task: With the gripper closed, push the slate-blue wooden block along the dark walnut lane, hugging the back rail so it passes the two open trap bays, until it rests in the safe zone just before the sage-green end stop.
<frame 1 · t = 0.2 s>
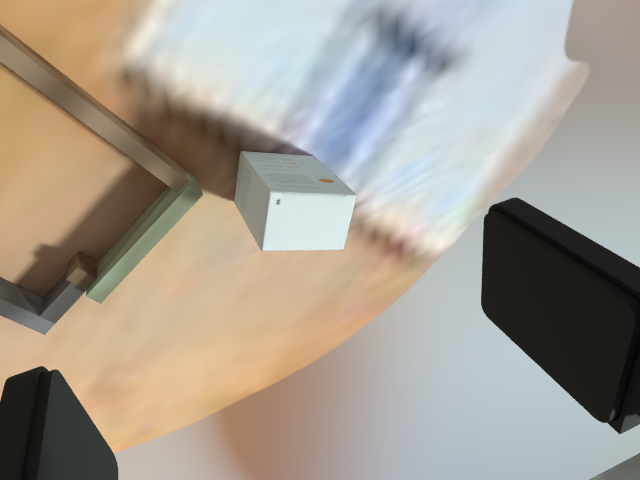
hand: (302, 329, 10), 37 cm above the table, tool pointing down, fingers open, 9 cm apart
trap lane: (10, 140, 39), on the table
small box: (274, 177, 49), on the table
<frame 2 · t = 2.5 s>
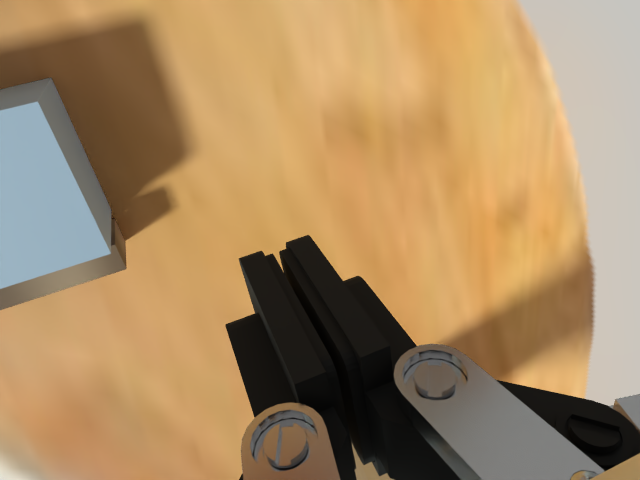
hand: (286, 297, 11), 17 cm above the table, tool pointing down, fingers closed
slate block: (9, 167, 23), on the table
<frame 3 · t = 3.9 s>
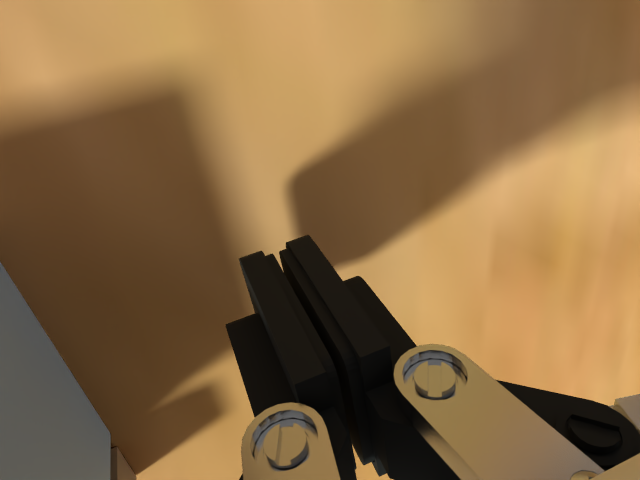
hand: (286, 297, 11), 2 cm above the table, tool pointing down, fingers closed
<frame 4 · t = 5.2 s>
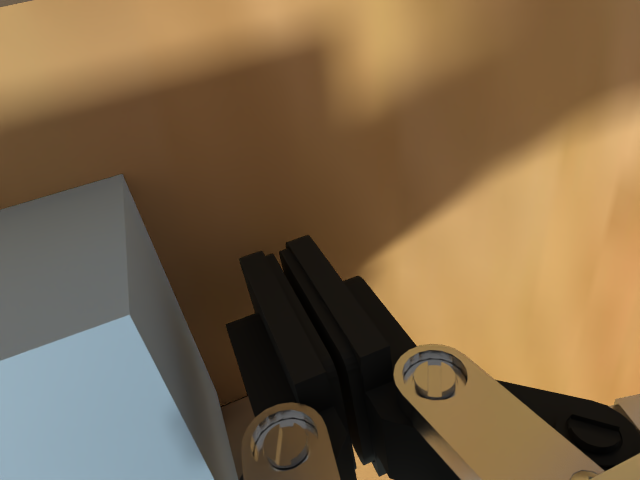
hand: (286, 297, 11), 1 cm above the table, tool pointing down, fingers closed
slate block: (28, 353, 11), on the table, touching gripper
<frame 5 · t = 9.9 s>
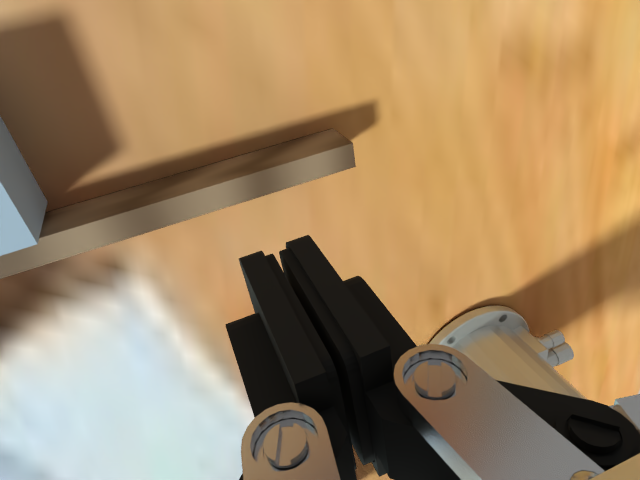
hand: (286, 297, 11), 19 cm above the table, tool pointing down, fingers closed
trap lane: (103, 89, 25), on the table
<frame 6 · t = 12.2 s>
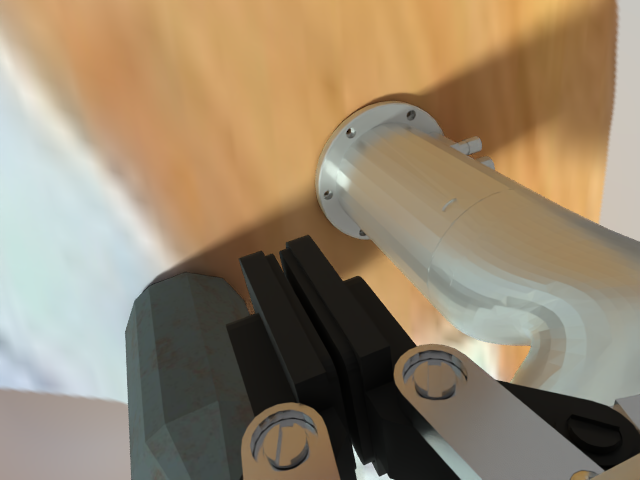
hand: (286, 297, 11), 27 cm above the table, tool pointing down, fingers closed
bottle: (186, 315, 43), on the table
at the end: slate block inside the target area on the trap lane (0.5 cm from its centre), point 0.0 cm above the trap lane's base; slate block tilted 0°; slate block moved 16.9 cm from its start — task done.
